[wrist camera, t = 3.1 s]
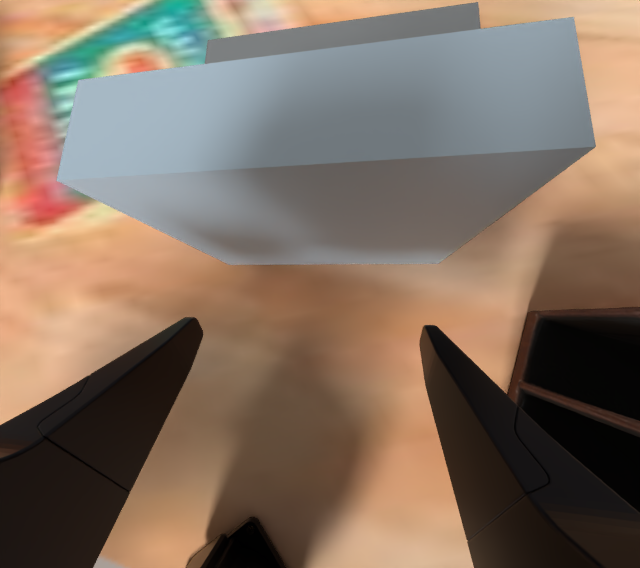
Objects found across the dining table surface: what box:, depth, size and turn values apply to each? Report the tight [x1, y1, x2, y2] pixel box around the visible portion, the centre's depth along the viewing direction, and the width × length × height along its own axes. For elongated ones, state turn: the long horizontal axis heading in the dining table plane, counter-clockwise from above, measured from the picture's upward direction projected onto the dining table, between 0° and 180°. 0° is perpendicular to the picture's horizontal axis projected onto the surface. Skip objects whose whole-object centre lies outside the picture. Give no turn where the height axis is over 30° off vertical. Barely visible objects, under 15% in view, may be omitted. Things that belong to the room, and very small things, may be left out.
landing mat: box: [205, 2, 481, 64], centre depth 21 cm, size 16×24×1 cm, turn 89°
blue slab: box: [57, 17, 596, 265], centre depth 14 cm, size 4×16×12 cm, turn 89°
